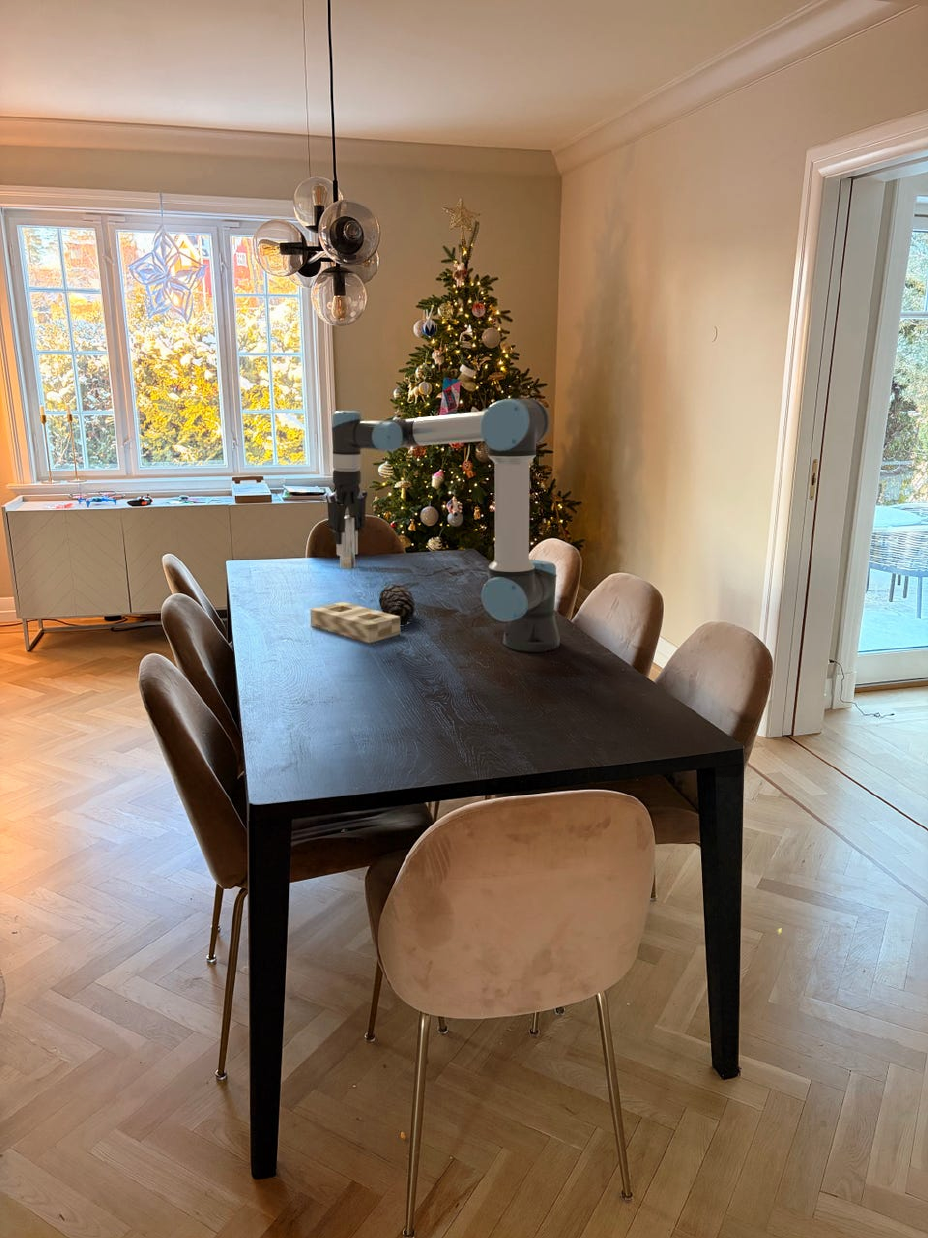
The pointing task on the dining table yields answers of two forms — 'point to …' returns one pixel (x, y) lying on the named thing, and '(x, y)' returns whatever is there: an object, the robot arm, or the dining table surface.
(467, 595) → the dining table surface
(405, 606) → the pine cone
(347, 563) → the steel pin
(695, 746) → the dining table surface
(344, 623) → the hole block
